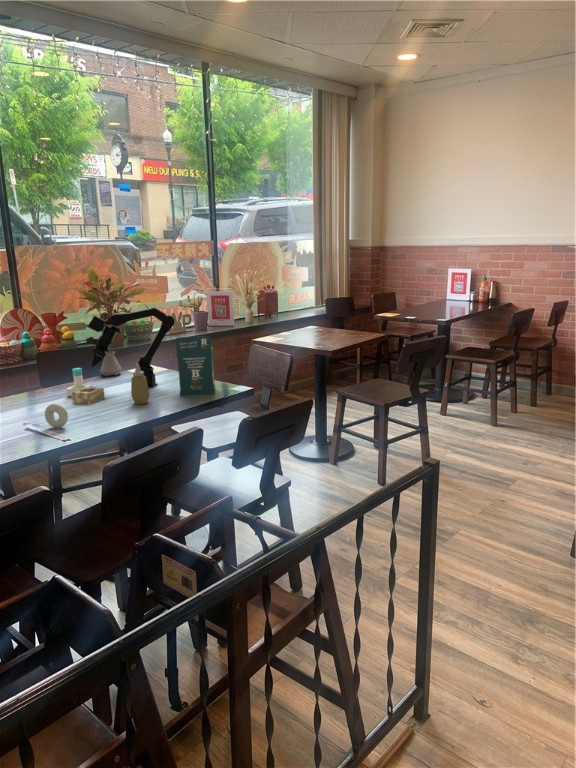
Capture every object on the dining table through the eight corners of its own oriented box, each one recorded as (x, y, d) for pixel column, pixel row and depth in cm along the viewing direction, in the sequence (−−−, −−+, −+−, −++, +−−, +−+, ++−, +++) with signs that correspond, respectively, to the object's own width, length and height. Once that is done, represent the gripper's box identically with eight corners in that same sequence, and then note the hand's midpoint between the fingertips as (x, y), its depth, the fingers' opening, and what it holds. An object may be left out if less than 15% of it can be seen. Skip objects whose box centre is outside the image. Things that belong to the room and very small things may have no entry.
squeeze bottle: (153, 400, 258) (149, 362, 253) (144, 405, 250) (140, 366, 246) (137, 400, 260) (134, 362, 255) (128, 404, 252) (124, 365, 248)
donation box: (180, 396, 264) (175, 337, 257) (183, 388, 279) (178, 332, 272) (214, 394, 265) (210, 335, 258) (215, 386, 281) (211, 330, 274)
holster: (92, 393, 275) (91, 385, 274) (82, 397, 267) (81, 389, 266) (78, 392, 277) (77, 384, 276) (67, 396, 270) (66, 388, 269)
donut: (71, 426, 223) (68, 402, 221) (65, 429, 220) (62, 405, 217) (50, 425, 226) (46, 401, 223) (44, 428, 223) (40, 404, 220)
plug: (84, 393, 275) (81, 367, 272) (85, 395, 271) (81, 369, 268) (75, 394, 273) (71, 368, 270) (75, 396, 270) (72, 370, 267)
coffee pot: (107, 372, 321) (104, 346, 317) (125, 372, 319) (123, 346, 315) (87, 381, 300) (84, 353, 297) (107, 381, 298) (104, 353, 295)
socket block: (104, 398, 265) (103, 387, 264) (91, 403, 256) (90, 393, 254) (86, 397, 268) (85, 386, 267) (73, 402, 259) (71, 392, 257)
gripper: (94, 326, 282) (80, 354, 284) (89, 332, 264) (75, 361, 266) (114, 337, 285) (101, 363, 287) (111, 342, 268) (97, 371, 269)
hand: (93, 364), depth 277 cm, fingers open, 9 cm apart
